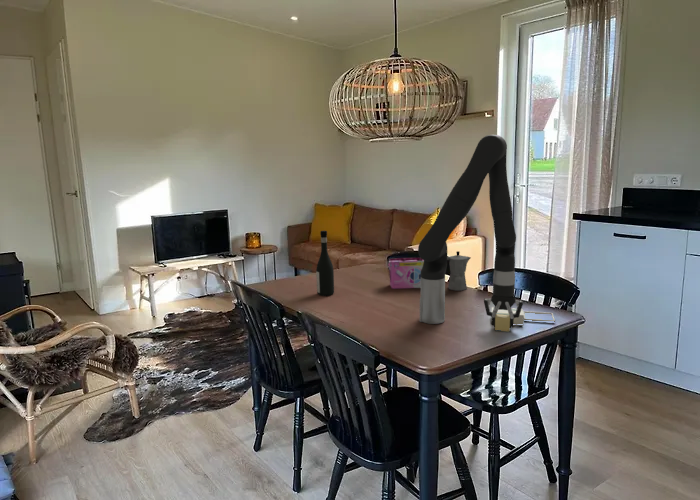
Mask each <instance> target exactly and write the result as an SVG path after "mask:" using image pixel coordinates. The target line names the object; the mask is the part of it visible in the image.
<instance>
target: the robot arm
mask: <svg viewBox="0 0 700 500" xmlns="http://www.w3.org/2000/svg"><path fill="white" fill-rule="evenodd" d="M507 147H508V145H507V142H506V140H505V139H504V138H503V137H502V136H501V135H498V134H489V135H488V134H487V135H485V136H483V137H482V138H481V139H480V140H479V141H478V143H477V145H476V148H475V149H474V152H473V154H472V156H471V157H470V160H469V162H468V164H467V167H466V168H465V170H464V171H463V173H462V174H461V176H459V179H458V180H457V181H456V183H455V185H454V186H453V187H452V189H451V190H450V192H449V194H448V196H447V197H446V199H445V201H444V203H443V205H442V207H441V209H440V210H439V212H438V215H437V216H436V218H435V220H434V222H433V224H432V225H431V227H430V228H429V230H428V231H427V232H426V234H425V235H424V237H423V238H422V239H421V241H420V242H419V244H418V248H417V252H418V257H419V258H421V259H423V260H424V264H423V267H422V269H421V288H420V297H419V323H425V324H429V325H434V324H435V325H438V324H442V323H444V322H445V316H446V314H445V312H446V311H445V310H446V306H445V305H446V304H445V303H446V302H445V301H446V297H445V296H446V274H445V272H447V267H448V261H447V257H448V244H447V240H448V239H449V237H450V235H451V234H453V233H452V232H453V231H454V230H455V229H456V228H457V227H458V225H460V224H461V223H462V221H463V220H464V219H465V217H467V215H468V213H470V211H471V210H472V207H473V206H474V205H475V203H476V201H477V198H478V197H479V194H480V191H481V189H482V186H483V183H484V181H485V179H486V177H487V176H488V182H489V189H488V191H489V192H488V193H489V195H488V196H489V197H488V198H489V204H490V205H489V206H490V210H491V216H492V217H491V218H492V222H493V230H494V240H495V256H494V265H493V267H494V269H493V277H492V296H491V297H490V298H484V299H483V304H484V308H485V313H486V316H489V317H492V322H491V321H490V322H491V326H493V328H495V316H496V313H497V312H498V310H502V309H504V310H508V313H509V315H510V329H512V328H514V327H513V326H514V325H513V320H514V318H516V317H517V318H518V317H519V315H520V312H521V309H523V305H524V303H523V300H518V299H516V297H515V289H516V286H515V285H516V272H515V270H516V269H515V268H516V267H515V266H516V257H515V249H516V242H517V235H516V230H515V226H514V225H515V224H514V220H513V207H512V200H511V194H510V193H511V192H510V187H509V182H508V174H507V150H508V148H507ZM491 302H492V304H493V305H494V306H493V307H494V310H493V312H492V311H491V310H490V305H491ZM513 305H516V309H517V310H516V313H514V314H513V312H512V309H511V308H512V307H513Z"/></svg>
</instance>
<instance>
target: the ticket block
mask: <svg viewBox="0 0 700 500" xmlns="http://www.w3.org/2000/svg"><path fill="white" fill-rule="evenodd" d="M494 307H495V306H491V312H493V310H494ZM511 309H512V312H513V314H514V313H516V310H517V308H514V307H513V308H512V307H511ZM523 311H524V309H523V308H522V309H521V312H520V315H519V317H518V318H517V317H516V318H514V320H513V324H523V325H524V314H523ZM498 313H508V310H504V309H502V310H498ZM490 317H491V316H490ZM490 319H491V320H490V322H492V317H491V318H490Z"/></svg>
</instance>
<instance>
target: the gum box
mask: <svg viewBox="0 0 700 500" xmlns="http://www.w3.org/2000/svg"><path fill="white" fill-rule="evenodd" d="M423 264H424V260H423V259H421V257H397V258H389V260H388V263H387V267H388V271H389V273H388V275H389V286H390V288H391V290H393V289H421V269H422V267H423Z"/></svg>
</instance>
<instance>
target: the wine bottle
mask: <svg viewBox="0 0 700 500" xmlns="http://www.w3.org/2000/svg"><path fill="white" fill-rule="evenodd" d="M319 233H320V244H321V245H320V249H321V250H320V256H319V259H318V262H317V265H316V271H315V273H316V276H315V277H316V294H317V295H318V296H320V297H321V296H322V297H331V296H332V295H334V294H335V271H334V265H333V263H332V261H331V258H330V255H329V253H328V236H327V235H328V231H327V230H321V231H320V232H319Z"/></svg>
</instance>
